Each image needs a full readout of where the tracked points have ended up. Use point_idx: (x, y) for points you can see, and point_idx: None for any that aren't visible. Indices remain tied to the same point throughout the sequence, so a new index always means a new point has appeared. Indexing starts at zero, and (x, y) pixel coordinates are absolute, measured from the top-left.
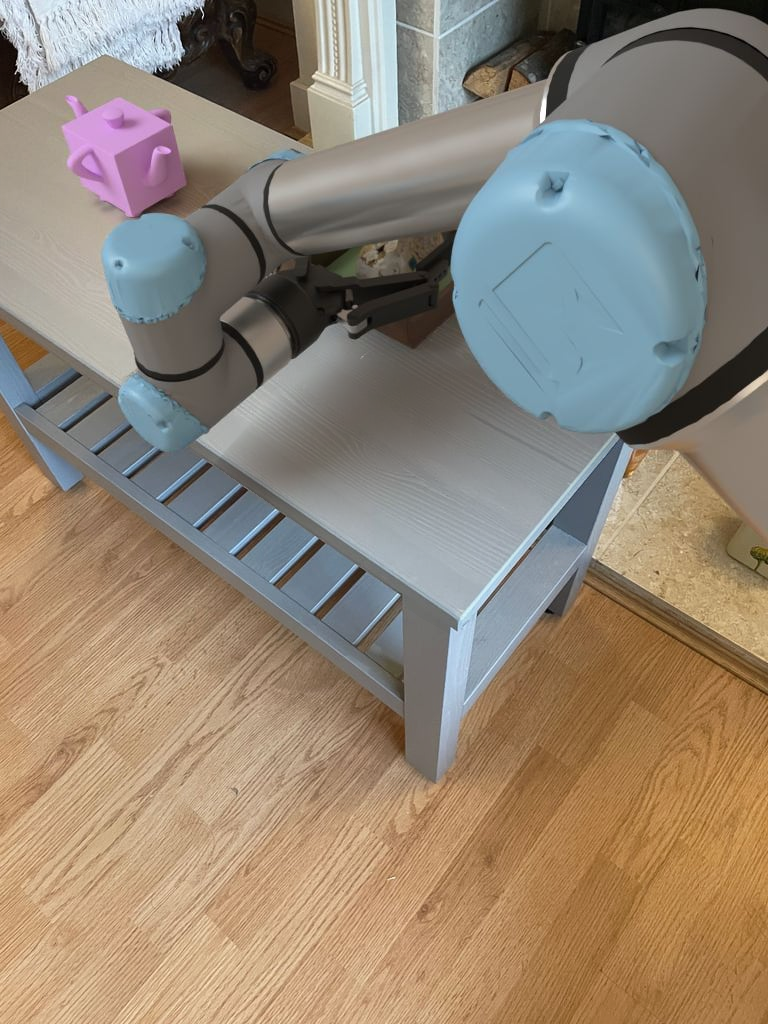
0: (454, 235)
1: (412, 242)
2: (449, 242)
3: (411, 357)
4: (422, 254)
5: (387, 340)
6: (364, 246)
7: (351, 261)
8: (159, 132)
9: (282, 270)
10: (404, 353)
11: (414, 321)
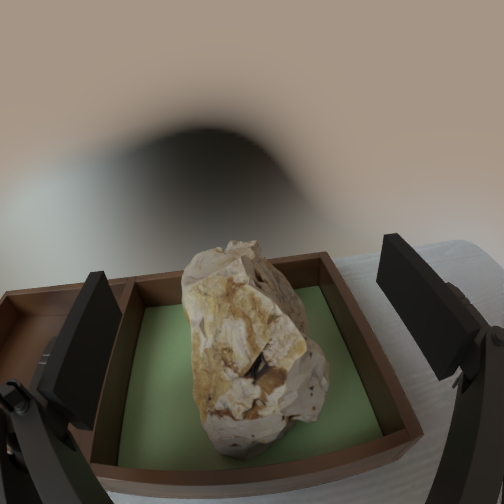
0: (392, 238)
1: (284, 311)
2: (412, 251)
3: (411, 469)
4: (298, 321)
5: (350, 484)
6: (195, 383)
7: (149, 400)
8: None
9: None
10: (397, 475)
11: (421, 431)
